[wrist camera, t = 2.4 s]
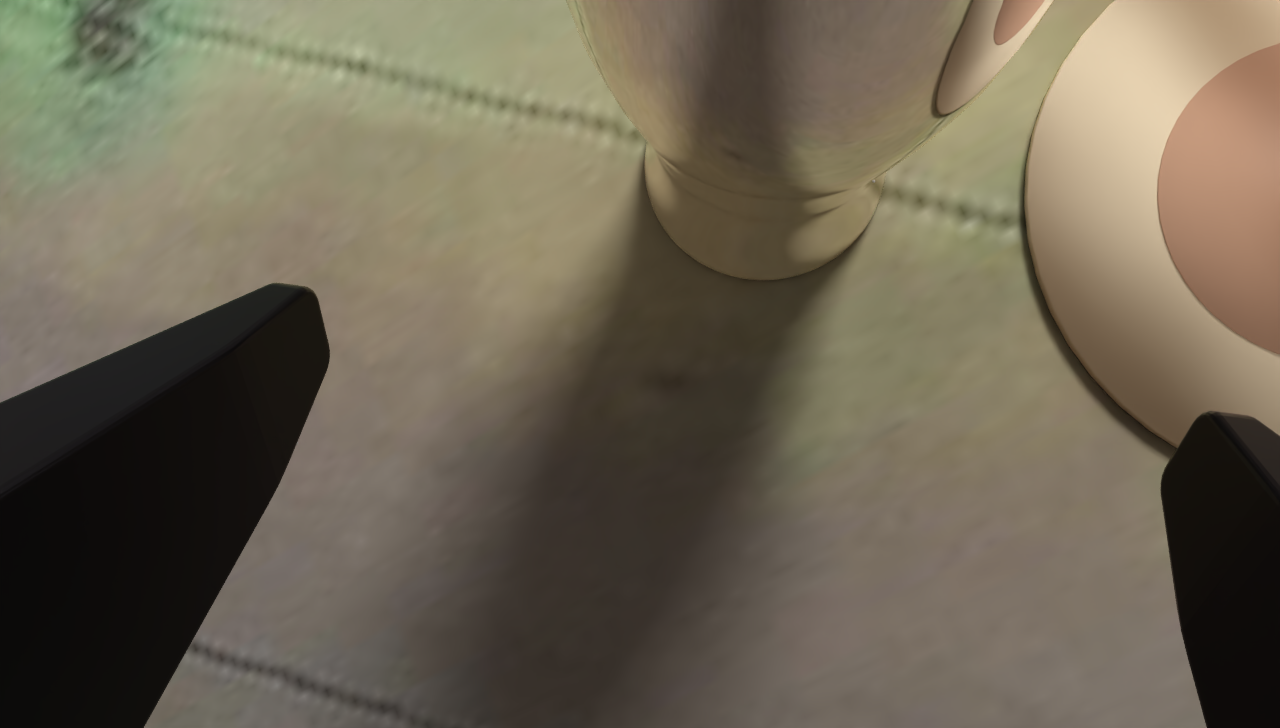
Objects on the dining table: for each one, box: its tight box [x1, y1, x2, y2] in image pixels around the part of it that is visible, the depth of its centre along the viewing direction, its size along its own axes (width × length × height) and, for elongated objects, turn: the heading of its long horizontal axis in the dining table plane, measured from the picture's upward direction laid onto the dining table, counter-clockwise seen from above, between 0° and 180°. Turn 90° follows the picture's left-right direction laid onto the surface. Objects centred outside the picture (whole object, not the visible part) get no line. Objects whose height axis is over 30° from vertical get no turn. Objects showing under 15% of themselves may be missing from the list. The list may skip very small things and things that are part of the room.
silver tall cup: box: [566, 0, 1054, 280], centre depth 15 cm, size 7×7×15 cm
